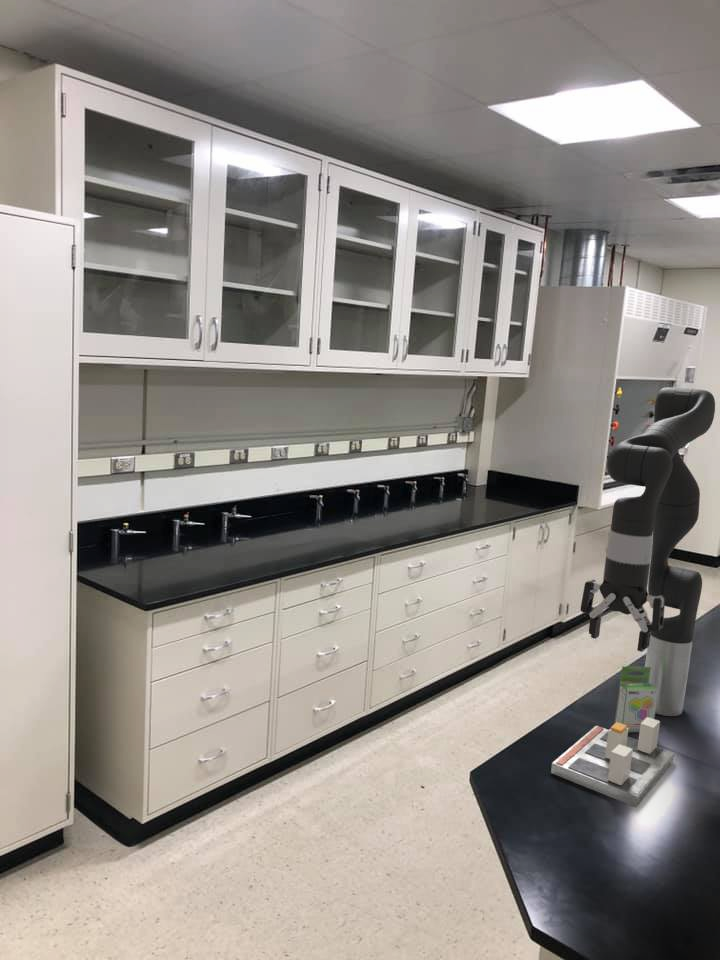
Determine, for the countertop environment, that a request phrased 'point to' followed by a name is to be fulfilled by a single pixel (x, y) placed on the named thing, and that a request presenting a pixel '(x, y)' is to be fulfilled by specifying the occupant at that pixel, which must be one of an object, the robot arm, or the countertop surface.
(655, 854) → the countertop surface
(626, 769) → the breaker near
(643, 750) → the block
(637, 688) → the ink box
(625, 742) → the block
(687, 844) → the countertop surface
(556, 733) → the countertop surface
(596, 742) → the panel
